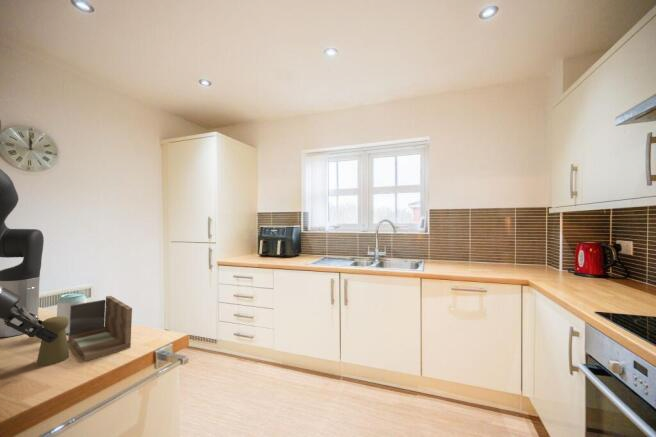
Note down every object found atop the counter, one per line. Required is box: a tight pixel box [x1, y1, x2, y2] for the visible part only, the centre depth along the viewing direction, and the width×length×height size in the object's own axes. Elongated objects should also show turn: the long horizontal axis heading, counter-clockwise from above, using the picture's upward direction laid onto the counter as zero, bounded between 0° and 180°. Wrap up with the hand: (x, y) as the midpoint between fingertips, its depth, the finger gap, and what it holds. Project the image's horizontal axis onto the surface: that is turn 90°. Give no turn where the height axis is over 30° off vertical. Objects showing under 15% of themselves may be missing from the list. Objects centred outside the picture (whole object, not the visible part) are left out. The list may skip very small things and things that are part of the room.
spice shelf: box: [67, 295, 133, 362], centre depth 81 cm, size 20×10×12 cm, turn 53°
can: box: [56, 292, 88, 335], centre depth 89 cm, size 7×7×12 cm
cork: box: [36, 316, 70, 367], centre depth 71 cm, size 6×6×11 cm
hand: (51, 334), depth 71 cm, fingers open, 8 cm apart
